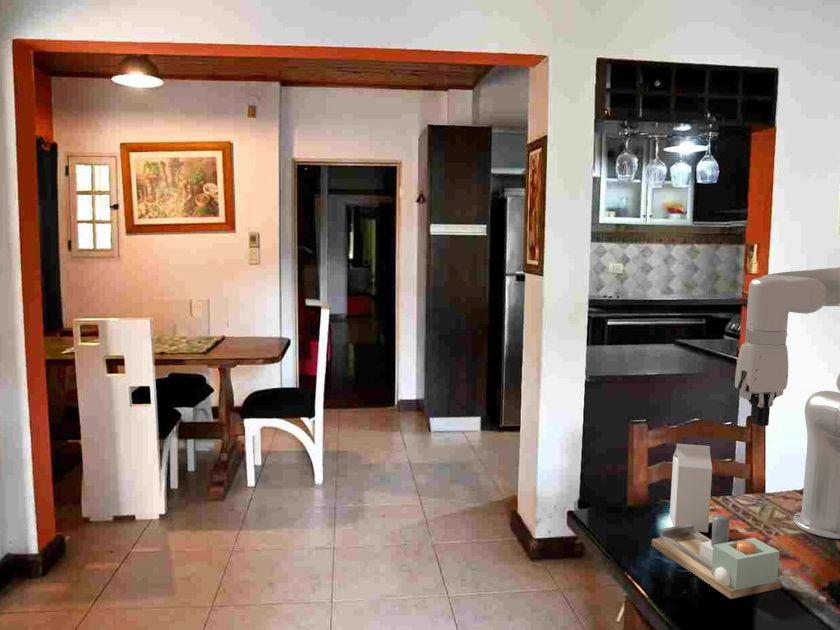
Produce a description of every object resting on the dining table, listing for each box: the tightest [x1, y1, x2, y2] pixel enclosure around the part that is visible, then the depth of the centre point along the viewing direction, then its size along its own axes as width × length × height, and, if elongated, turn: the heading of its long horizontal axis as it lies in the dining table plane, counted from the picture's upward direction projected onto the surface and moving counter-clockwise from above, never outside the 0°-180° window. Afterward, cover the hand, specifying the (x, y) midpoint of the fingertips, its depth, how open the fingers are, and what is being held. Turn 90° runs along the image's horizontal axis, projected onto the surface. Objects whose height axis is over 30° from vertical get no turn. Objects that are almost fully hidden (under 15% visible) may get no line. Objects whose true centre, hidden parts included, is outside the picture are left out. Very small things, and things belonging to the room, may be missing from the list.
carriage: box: [699, 514, 731, 564], centre depth 132 cm, size 5×5×9 cm
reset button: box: [737, 541, 756, 555], centre depth 126 cm, size 3×3×3 cm
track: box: [651, 524, 782, 600], centre depth 134 cm, size 12×22×4 cm, turn 19°
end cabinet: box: [711, 537, 780, 599], centre depth 126 cm, size 10×6×8 cm, turn 109°
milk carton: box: [669, 443, 713, 533], centre depth 152 cm, size 7×7×19 cm
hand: (759, 424), depth 139 cm, fingers closed
